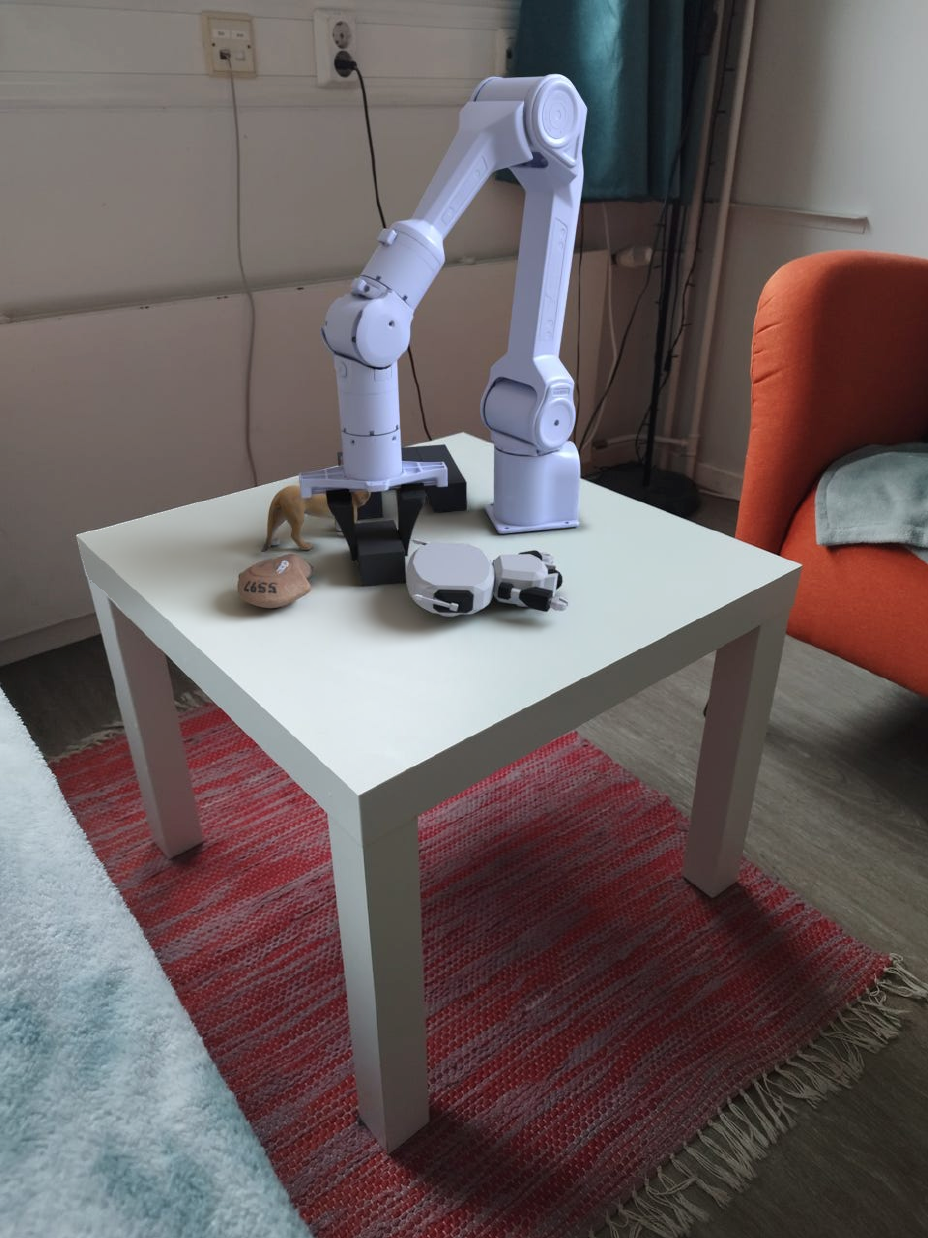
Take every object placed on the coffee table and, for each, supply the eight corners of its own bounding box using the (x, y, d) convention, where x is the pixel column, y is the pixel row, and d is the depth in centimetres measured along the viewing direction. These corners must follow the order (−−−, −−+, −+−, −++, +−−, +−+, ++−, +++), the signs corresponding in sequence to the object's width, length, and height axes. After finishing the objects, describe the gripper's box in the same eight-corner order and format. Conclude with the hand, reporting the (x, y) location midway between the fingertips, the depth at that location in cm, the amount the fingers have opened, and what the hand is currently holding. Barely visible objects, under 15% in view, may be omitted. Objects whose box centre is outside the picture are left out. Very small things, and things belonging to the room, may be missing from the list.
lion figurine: (363, 514, 106) (358, 440, 102) (389, 528, 103) (385, 452, 98) (251, 549, 98) (240, 470, 94) (275, 565, 95) (264, 484, 90)
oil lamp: (339, 608, 88) (308, 577, 94) (340, 570, 86) (309, 541, 92) (249, 621, 84) (223, 588, 90) (249, 582, 82) (223, 550, 88)
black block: (395, 549, 98) (394, 519, 96) (406, 582, 91) (404, 550, 89) (354, 552, 97) (352, 523, 95) (361, 586, 90) (359, 555, 89)
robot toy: (550, 577, 94) (405, 572, 92) (555, 537, 91) (406, 532, 90) (569, 637, 83) (405, 633, 82) (575, 594, 81) (407, 589, 79)
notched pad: (445, 469, 119) (445, 443, 117) (466, 509, 107) (466, 482, 105) (339, 477, 117) (337, 451, 115) (349, 520, 105) (346, 491, 103)
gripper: (295, 445, 82) (309, 578, 89) (452, 434, 84) (454, 564, 91) (293, 422, 88) (306, 548, 95) (439, 412, 91) (442, 536, 97)
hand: (378, 554), depth 93 cm, fingers closed on black block, 4 cm apart
